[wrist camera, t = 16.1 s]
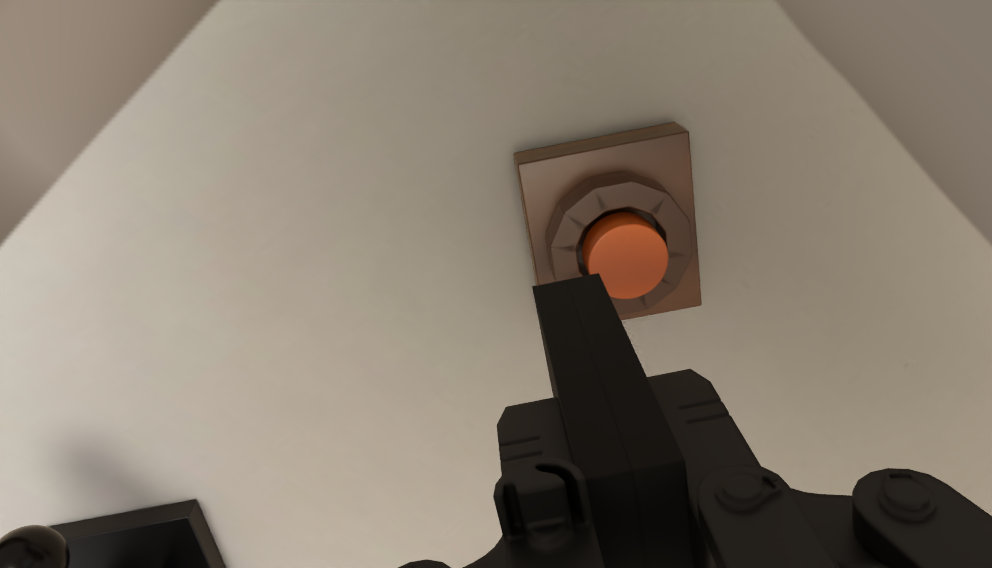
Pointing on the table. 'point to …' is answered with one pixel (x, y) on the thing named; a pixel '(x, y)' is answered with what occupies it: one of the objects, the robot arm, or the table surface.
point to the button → (625, 254)
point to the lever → (34, 548)
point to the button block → (613, 207)
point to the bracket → (143, 539)
